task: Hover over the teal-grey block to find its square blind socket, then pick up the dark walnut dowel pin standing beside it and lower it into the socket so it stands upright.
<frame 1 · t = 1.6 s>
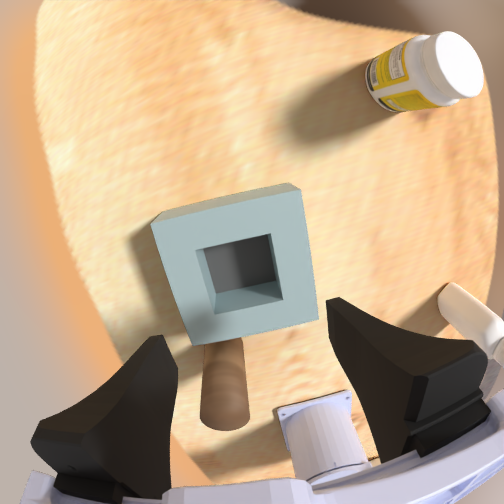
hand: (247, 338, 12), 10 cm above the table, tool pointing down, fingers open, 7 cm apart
pin: (224, 344, 24), on the table
eye dropper bottle: (450, 301, 25), on the table
supplement bottle: (389, 83, 18), on the table
socket block: (238, 256, 22), on the table
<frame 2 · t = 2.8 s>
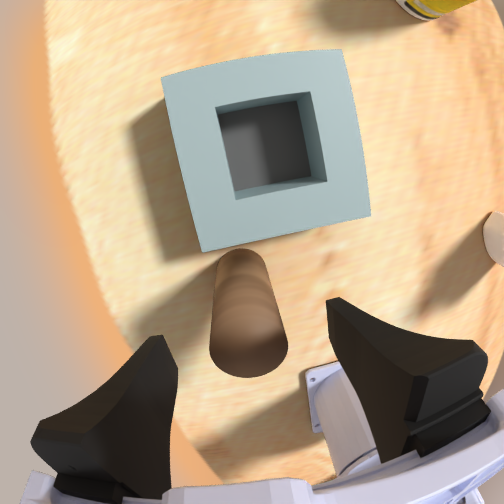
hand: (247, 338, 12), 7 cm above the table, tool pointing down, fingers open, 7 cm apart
pin: (241, 272, 19), on the table
eye dropper bottle: (493, 236, 20), on the table
socket block: (264, 144, 16), on the table
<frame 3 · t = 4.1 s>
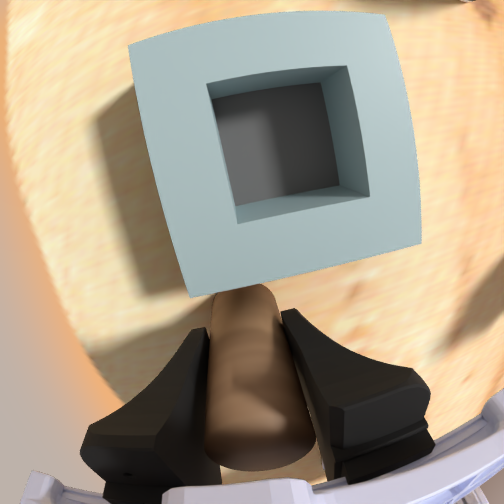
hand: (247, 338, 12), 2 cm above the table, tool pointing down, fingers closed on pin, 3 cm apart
pin: (244, 309, 14), on the table, touching gripper
socket block: (276, 141, 12), on the table
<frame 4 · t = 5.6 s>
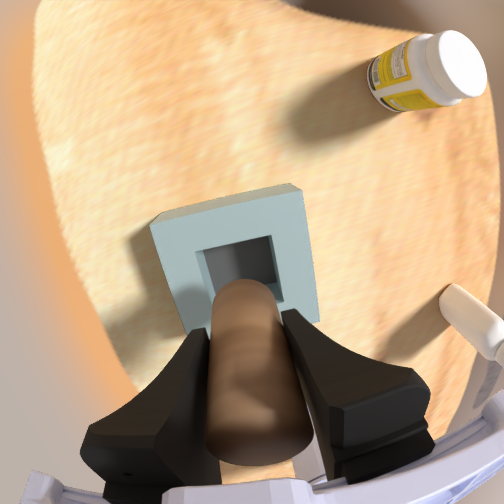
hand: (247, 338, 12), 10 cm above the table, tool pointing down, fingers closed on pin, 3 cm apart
pin: (244, 307, 15), point 7 cm above the table, touching gripper
eye dropper bottle: (451, 302, 25), on the table
supplement bottle: (390, 83, 18), on the table
socket block: (239, 257, 21), on the table
when the fingers open (4 cm above the table, at t = 7.2 s): pin stays where it is, resting on socket block.
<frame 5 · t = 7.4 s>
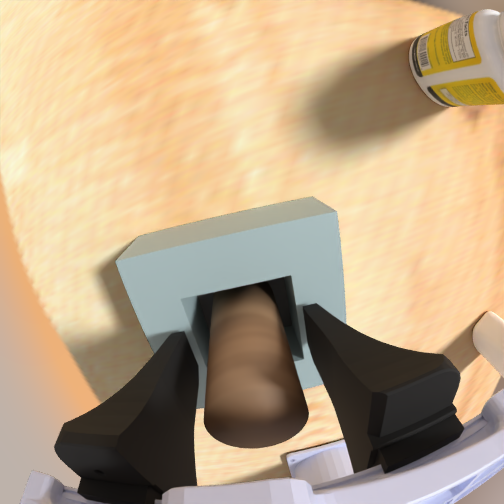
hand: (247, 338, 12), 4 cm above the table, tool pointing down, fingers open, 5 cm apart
pin: (243, 300, 15), point 1 cm above the table, touching socket block
eye dropper bottle: (484, 330, 20), on the table
supplement bottle: (435, 70, 12), on the table
socket block: (243, 295, 16), on the table
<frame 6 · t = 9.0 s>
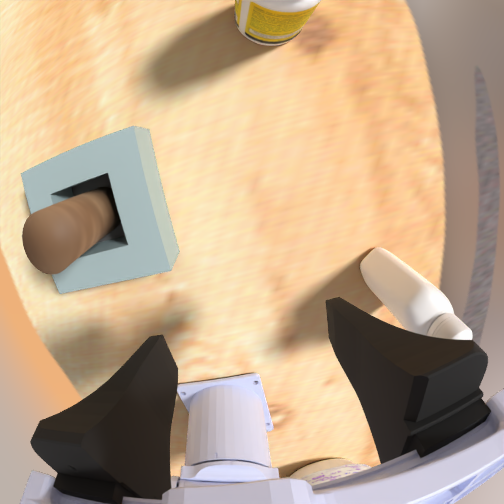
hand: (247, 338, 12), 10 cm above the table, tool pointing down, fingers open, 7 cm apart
paper bowls: (320, 470, 35), on the table
pin: (104, 209, 19), point 1 cm above the table, touching socket block
eye dropper bottle: (382, 272, 23), on the table
supplement bottle: (267, 20, 16), on the table
socket block: (107, 207, 19), on the table
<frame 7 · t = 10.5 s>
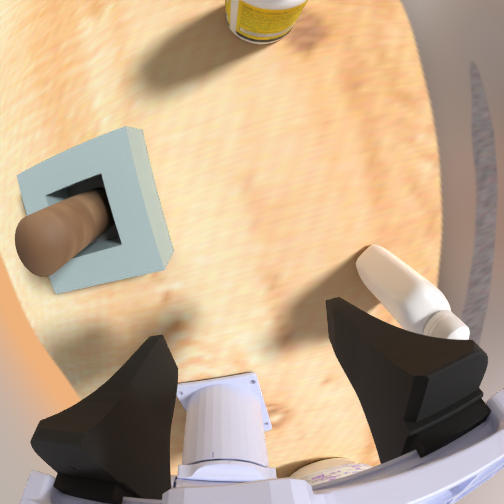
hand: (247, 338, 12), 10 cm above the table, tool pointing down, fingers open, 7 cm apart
paper bowls: (320, 470, 35), on the table
pin: (99, 209, 19), point 1 cm above the table, touching socket block
eye dropper bottle: (378, 270, 23), on the table
supplement bottle: (259, 19, 16), on the table
socket block: (102, 207, 19), on the table
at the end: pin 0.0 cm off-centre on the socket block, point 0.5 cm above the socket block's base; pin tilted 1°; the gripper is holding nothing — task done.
